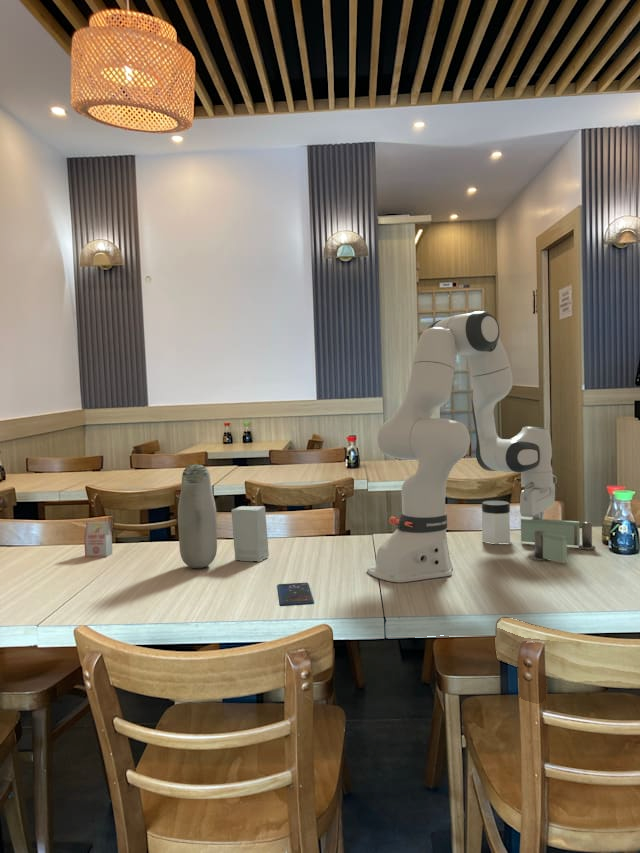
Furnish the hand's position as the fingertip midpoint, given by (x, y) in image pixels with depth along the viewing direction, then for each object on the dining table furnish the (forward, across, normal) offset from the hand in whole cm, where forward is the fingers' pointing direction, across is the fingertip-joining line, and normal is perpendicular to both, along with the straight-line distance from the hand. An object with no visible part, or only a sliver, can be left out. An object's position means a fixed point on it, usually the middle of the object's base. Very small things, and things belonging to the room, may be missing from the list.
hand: (538, 526), depth 184 cm
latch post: (+5, -19, -7) cm, 20 cm away
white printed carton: (+2, -82, +103) cm, 132 cm away
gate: (+4, -2, -4) cm, 6 cm away
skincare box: (+3, -61, +60) cm, 86 cm away
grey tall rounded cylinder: (+3, -74, +67) cm, 100 cm away
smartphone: (+4, -78, +30) cm, 83 cm away
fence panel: (+5, -20, -11) cm, 24 cm away
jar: (+5, -6, +11) cm, 13 cm away
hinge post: (+5, 0, -14) cm, 15 cm away
